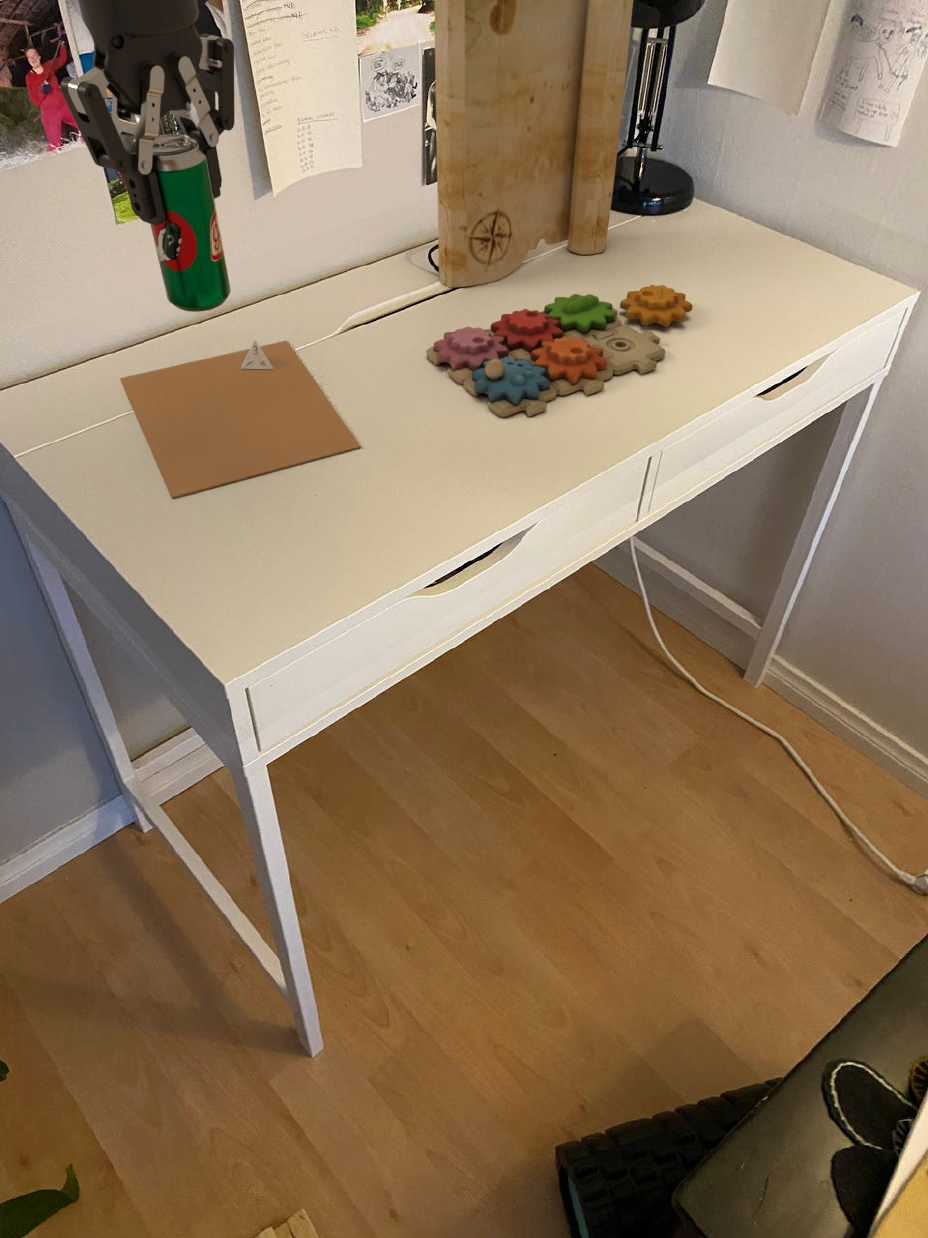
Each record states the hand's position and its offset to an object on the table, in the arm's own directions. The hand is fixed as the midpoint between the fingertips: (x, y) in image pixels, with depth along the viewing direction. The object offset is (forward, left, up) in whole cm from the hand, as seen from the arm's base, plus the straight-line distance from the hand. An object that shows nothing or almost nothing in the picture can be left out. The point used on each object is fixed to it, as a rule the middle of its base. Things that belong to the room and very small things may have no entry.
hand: (180, 207), depth 72 cm
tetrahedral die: (+7, +15, -23) cm, 29 cm away
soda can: (0, 0, -8) cm, 8 cm away
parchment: (+44, +25, -24) cm, 56 cm away
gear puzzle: (+40, +4, -24) cm, 46 cm away
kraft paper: (+2, +8, -23) cm, 25 cm away
